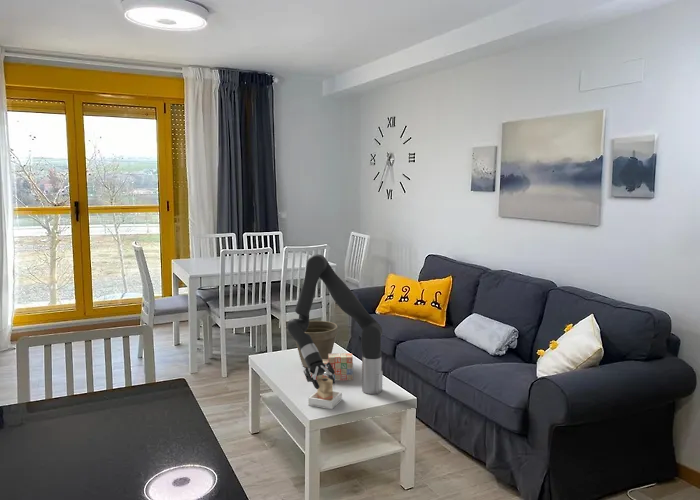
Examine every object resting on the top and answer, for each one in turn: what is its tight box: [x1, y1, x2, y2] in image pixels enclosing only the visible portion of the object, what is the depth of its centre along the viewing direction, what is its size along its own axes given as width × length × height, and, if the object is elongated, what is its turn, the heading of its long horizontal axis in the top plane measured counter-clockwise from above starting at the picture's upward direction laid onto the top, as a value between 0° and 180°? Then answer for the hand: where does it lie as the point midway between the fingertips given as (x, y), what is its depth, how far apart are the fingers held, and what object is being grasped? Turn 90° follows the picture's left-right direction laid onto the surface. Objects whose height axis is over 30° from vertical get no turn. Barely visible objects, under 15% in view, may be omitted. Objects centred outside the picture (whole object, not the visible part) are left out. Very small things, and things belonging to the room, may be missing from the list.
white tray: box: [307, 390, 343, 410], centre depth 254 cm, size 12×12×4 cm
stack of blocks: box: [310, 352, 354, 381], centre depth 283 cm, size 21×6×12 cm, turn 93°
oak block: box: [316, 377, 334, 401], centre depth 253 cm, size 5×5×10 cm
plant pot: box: [295, 320, 339, 369], centre depth 302 cm, size 25×25×22 cm
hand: (325, 386), depth 253 cm, fingers open, 8 cm apart
